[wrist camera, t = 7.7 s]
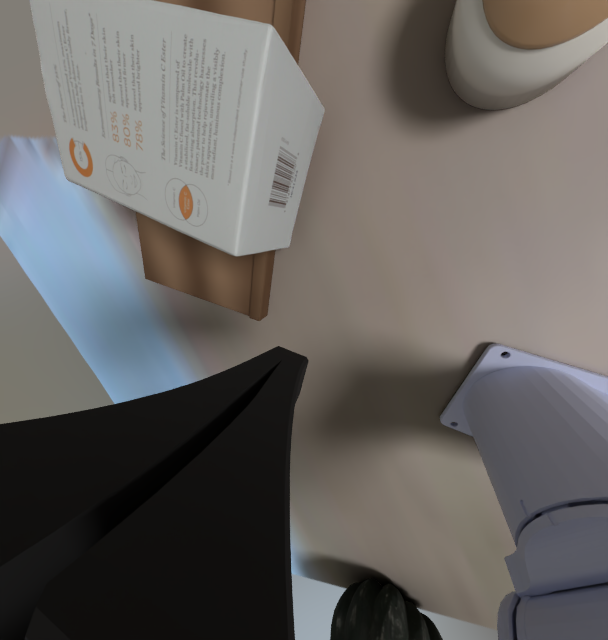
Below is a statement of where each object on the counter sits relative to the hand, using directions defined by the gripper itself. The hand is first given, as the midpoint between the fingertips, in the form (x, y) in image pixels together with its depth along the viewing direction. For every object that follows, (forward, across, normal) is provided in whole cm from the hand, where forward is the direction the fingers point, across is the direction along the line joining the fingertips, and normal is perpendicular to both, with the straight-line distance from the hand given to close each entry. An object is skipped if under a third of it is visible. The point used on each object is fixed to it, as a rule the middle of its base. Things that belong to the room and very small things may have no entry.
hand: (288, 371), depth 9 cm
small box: (+6, +4, -7) cm, 10 cm away
